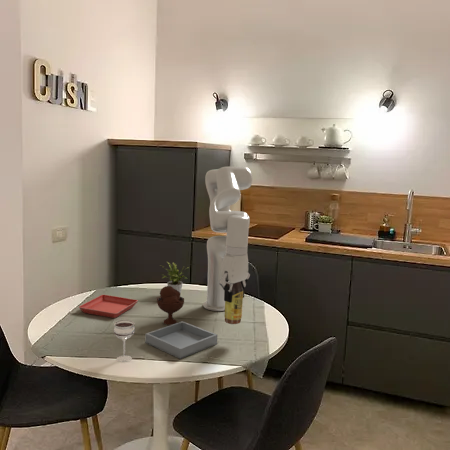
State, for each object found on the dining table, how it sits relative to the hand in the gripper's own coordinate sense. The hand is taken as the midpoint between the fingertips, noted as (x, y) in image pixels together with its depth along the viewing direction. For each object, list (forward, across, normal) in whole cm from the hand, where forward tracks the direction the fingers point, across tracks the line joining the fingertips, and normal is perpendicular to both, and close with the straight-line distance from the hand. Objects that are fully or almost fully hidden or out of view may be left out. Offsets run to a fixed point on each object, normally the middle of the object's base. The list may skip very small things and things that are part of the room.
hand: (234, 298), depth 174 cm
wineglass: (+16, +37, -15) cm, 43 cm away
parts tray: (+16, +15, -11) cm, 25 cm away
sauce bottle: (+9, 0, 0) cm, 9 cm away
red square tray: (+18, +13, -57) cm, 61 cm away
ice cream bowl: (+17, +4, -29) cm, 34 cm away
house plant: (+18, -20, -54) cm, 60 cm away
